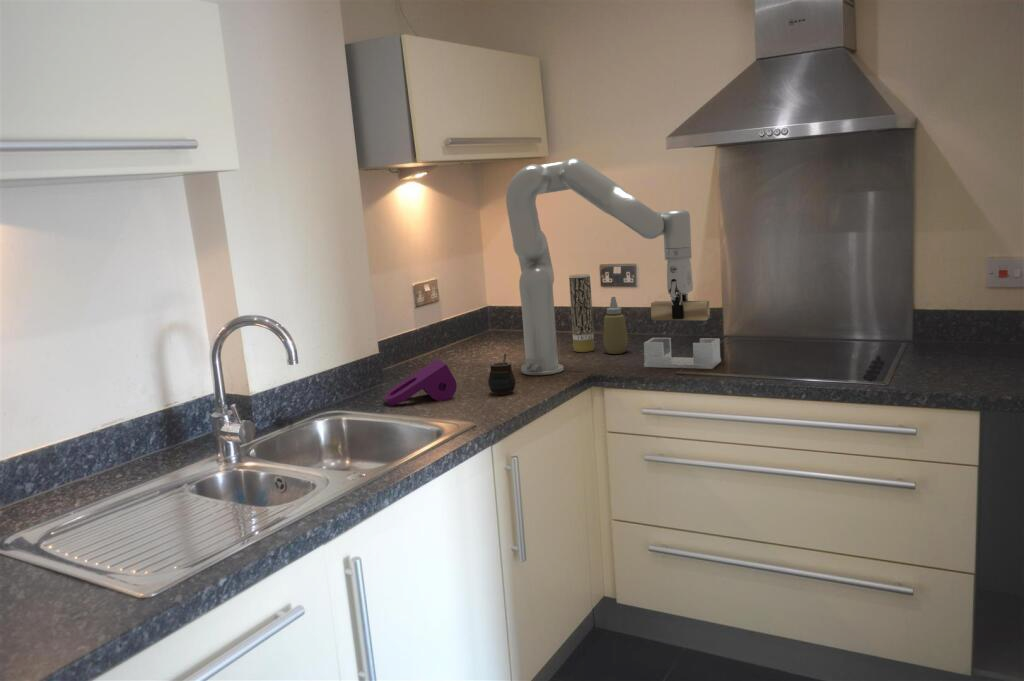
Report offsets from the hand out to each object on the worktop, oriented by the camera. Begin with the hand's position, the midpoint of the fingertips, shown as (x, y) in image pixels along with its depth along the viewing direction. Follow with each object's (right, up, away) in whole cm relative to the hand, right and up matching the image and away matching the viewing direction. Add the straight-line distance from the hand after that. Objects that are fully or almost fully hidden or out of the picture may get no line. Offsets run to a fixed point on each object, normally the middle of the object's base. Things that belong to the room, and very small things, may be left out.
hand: (680, 316), depth 243 cm
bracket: (+1, -14, +2) cm, 14 cm away
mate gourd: (-51, -21, -17) cm, 58 cm away
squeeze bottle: (-15, -11, +27) cm, 33 cm away
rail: (0, -1, 0) cm, 1 cm away
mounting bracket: (-73, -23, -18) cm, 79 cm away
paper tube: (-25, -10, +35) cm, 44 cm away
